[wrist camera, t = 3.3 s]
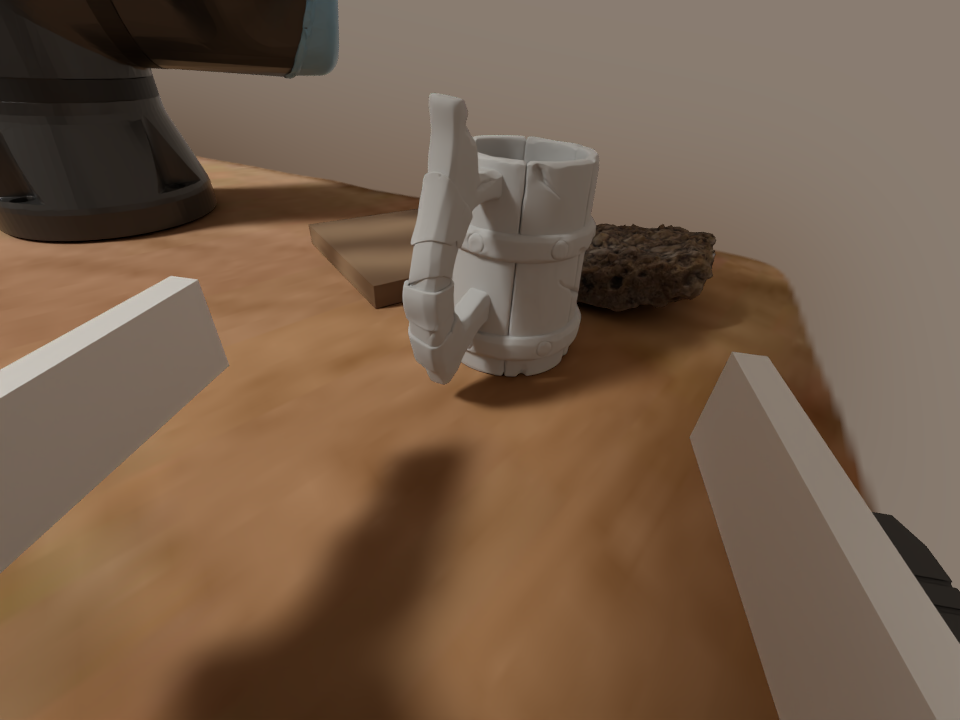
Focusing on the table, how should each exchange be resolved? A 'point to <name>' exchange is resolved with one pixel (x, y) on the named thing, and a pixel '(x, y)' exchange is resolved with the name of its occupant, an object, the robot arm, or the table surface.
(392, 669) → the table surface
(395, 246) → the rest board
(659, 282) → the concrete sample
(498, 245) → the mug
